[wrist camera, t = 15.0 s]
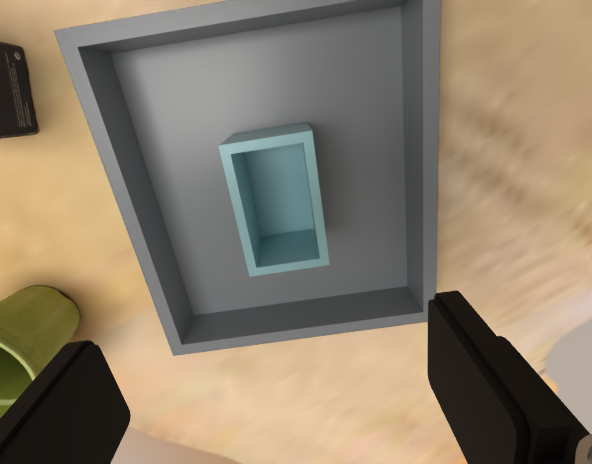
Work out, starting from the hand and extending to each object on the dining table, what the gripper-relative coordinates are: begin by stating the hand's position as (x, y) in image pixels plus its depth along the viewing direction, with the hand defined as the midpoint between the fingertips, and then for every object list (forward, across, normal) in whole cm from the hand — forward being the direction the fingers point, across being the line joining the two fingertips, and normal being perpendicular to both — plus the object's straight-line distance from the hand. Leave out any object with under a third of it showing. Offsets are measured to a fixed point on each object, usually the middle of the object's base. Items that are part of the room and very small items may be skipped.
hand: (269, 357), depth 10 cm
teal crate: (+19, 0, 0) cm, 19 cm away
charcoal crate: (+20, 0, 0) cm, 20 cm away
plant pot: (+20, +24, +9) cm, 33 cm away
